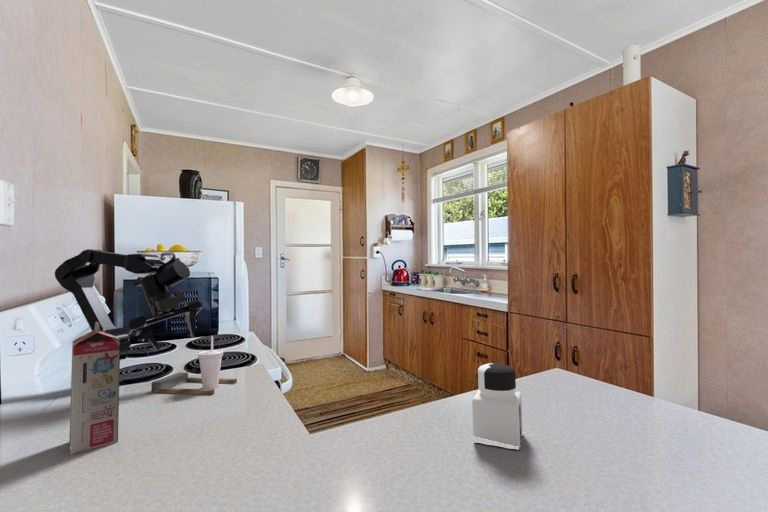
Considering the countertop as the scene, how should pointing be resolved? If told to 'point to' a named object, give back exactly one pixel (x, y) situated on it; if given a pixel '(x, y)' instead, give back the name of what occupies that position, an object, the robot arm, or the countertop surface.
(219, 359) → the smoothie
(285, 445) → the countertop surface
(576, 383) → the countertop surface
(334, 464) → the countertop surface
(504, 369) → the container
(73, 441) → the juice carton
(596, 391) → the countertop surface
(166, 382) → the guide track
